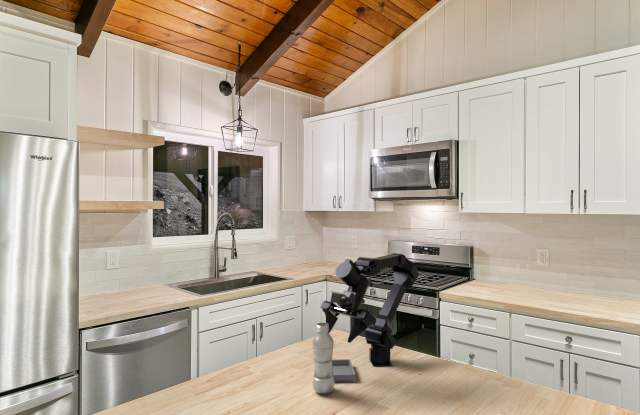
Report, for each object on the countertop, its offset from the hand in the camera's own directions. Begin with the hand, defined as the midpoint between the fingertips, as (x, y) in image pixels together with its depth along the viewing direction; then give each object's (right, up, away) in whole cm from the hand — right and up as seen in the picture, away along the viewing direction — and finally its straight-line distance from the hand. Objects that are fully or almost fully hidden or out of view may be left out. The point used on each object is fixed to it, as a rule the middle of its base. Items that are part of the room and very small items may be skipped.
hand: (337, 338), depth 125 cm
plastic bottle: (-4, -14, -4) cm, 16 cm away
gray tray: (-1, -14, +8) cm, 16 cm away
